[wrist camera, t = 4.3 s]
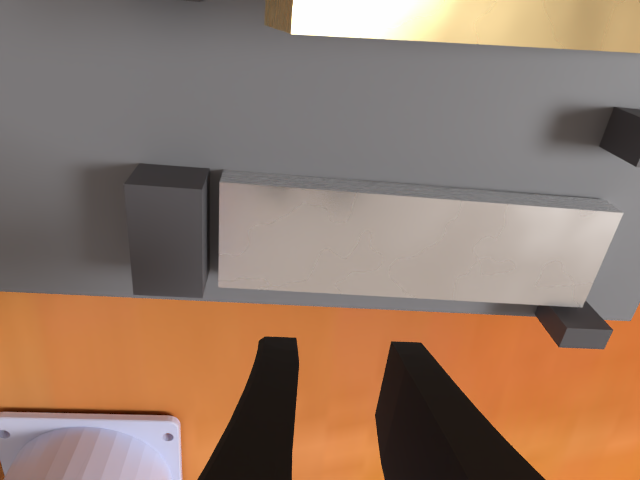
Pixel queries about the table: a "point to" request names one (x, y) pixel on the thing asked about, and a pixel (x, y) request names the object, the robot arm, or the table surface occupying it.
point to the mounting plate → (285, 143)
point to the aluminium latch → (409, 240)
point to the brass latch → (468, 21)
